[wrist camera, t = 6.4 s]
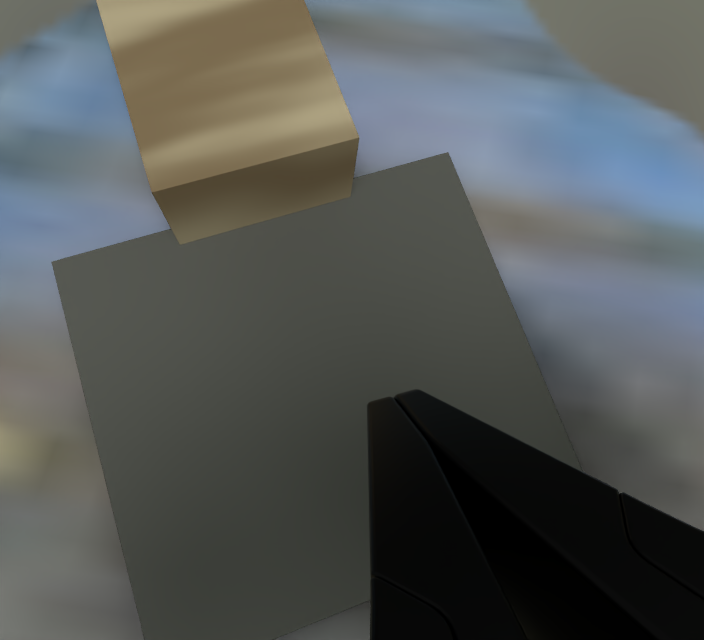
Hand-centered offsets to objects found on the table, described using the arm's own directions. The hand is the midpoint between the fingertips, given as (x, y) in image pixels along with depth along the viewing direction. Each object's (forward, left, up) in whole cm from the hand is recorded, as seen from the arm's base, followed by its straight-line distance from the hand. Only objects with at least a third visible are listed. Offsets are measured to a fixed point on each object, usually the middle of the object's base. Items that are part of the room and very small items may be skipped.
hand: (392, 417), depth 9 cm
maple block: (+6, +5, -7) cm, 11 cm away
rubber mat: (+1, +1, -10) cm, 10 cm away
